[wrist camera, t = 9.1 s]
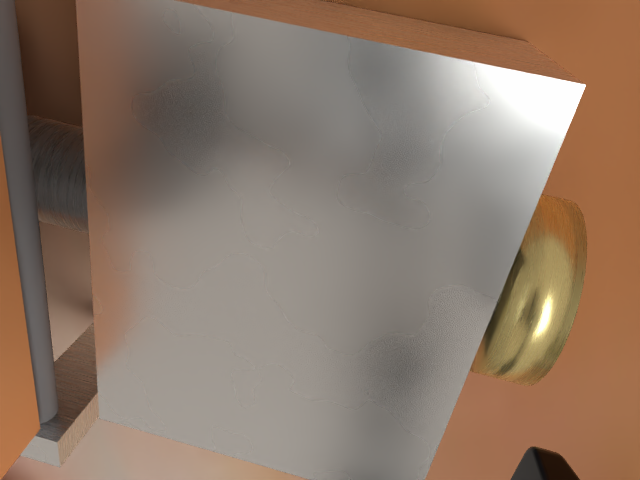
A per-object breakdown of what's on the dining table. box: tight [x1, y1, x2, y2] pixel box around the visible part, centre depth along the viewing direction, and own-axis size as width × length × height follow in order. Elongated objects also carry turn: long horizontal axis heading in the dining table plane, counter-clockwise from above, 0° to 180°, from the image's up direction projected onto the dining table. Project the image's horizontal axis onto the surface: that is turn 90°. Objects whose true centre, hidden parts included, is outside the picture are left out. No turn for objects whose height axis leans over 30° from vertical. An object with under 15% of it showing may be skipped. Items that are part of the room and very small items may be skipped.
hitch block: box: [20, 0, 586, 480], centre depth 13 cm, size 14×14×6 cm
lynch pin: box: [27, 115, 587, 386], centre depth 13 cm, size 4×13×4 cm, turn 81°
